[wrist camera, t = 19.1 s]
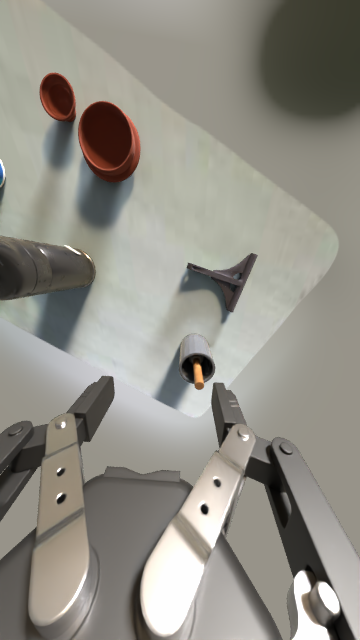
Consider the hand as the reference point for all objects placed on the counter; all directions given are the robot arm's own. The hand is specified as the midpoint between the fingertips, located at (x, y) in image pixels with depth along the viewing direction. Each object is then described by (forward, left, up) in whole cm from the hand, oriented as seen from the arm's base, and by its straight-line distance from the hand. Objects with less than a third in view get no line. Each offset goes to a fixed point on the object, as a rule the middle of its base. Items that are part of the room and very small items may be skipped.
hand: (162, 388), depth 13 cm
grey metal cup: (+5, -12, -32) cm, 35 cm away
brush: (+5, -12, -32) cm, 34 cm away
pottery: (-18, +34, -32) cm, 50 cm away
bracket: (+9, +8, -32) cm, 34 cm away
